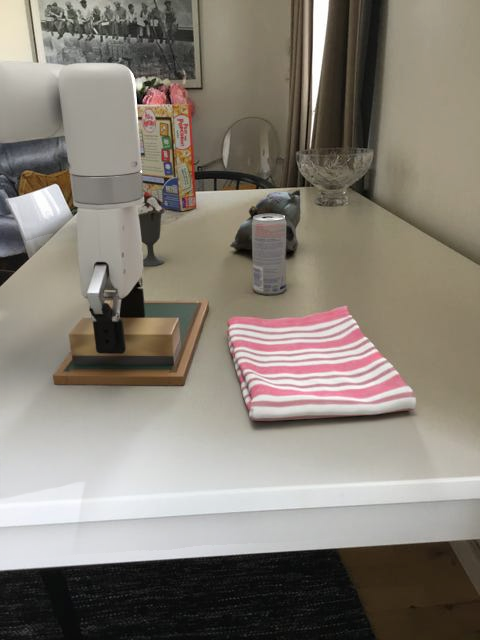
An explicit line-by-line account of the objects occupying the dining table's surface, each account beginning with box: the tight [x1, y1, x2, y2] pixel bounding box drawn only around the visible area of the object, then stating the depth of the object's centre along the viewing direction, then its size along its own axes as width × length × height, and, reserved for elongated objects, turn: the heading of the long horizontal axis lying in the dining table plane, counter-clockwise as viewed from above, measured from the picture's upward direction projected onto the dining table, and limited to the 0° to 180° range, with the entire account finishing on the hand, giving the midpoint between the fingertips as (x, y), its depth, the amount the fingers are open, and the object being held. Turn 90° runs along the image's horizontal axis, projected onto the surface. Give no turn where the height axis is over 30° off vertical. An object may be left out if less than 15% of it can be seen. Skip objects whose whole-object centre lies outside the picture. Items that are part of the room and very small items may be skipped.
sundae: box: [137, 190, 166, 267], centre depth 106 cm, size 7×7×15 cm
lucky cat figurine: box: [229, 189, 302, 255], centre depth 113 cm, size 15×12×14 cm
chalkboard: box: [52, 300, 210, 387], centre depth 75 cm, size 15×24×1 cm, turn 176°
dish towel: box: [226, 305, 417, 422], centre depth 66 cm, size 17×23×4 cm
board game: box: [137, 103, 197, 212], centre depth 155 cm, size 20×6×27 cm, turn 46°
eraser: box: [68, 317, 181, 365], centre depth 68 cm, size 12×5×4 cm, turn 86°
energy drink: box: [251, 214, 287, 296], centre depth 90 cm, size 5×5×12 cm
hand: (122, 334), depth 67 cm, fingers open, 9 cm apart
